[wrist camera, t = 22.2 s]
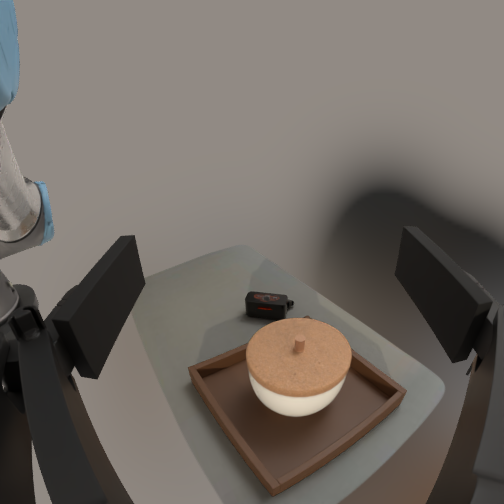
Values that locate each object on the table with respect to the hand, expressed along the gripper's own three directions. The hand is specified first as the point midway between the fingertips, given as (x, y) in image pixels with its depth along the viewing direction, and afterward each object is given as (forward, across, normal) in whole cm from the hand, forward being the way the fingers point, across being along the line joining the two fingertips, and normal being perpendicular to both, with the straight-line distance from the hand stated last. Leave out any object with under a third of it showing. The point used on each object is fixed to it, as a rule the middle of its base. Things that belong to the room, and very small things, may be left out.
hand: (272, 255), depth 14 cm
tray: (+9, +3, -24) cm, 26 cm away
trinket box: (+9, +3, -23) cm, 25 cm away
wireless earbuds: (+27, +1, -24) cm, 36 cm away
